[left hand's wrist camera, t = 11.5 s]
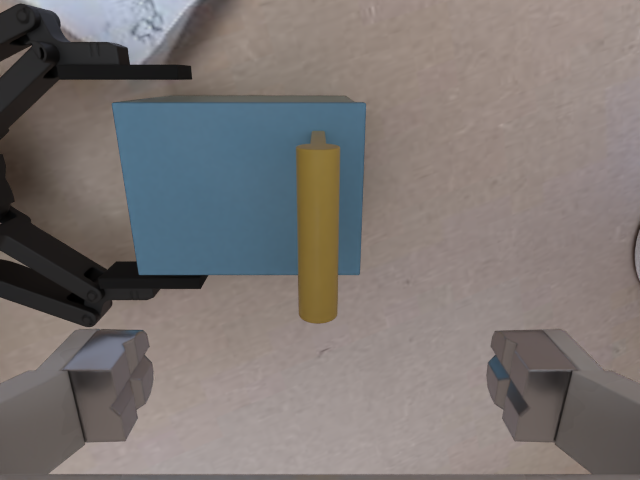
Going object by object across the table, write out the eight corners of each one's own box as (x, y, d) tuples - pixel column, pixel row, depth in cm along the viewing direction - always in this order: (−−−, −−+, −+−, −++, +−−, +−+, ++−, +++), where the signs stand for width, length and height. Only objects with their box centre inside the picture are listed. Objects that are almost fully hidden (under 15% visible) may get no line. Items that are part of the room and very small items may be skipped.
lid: (364, 102, 23) (387, 114, 15) (358, 269, 27) (375, 348, 19) (117, 101, 23) (16, 114, 15) (143, 269, 27) (71, 348, 19)
